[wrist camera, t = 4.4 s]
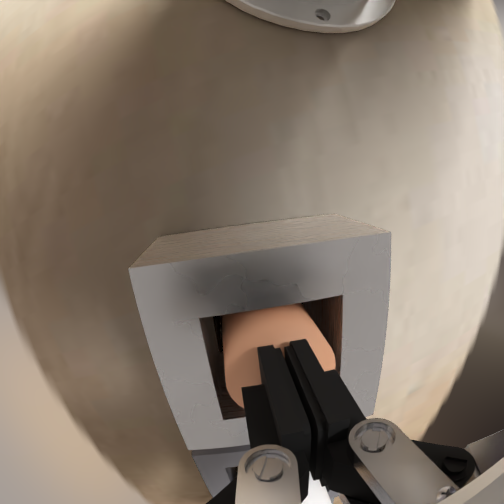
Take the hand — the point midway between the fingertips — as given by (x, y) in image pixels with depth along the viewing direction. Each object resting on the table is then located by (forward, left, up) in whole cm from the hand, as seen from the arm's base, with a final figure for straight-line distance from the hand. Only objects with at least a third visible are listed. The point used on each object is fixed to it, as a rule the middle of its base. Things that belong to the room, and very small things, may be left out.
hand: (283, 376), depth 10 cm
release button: (0, 0, -5) cm, 5 cm away
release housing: (0, 0, -6) cm, 6 cm away
